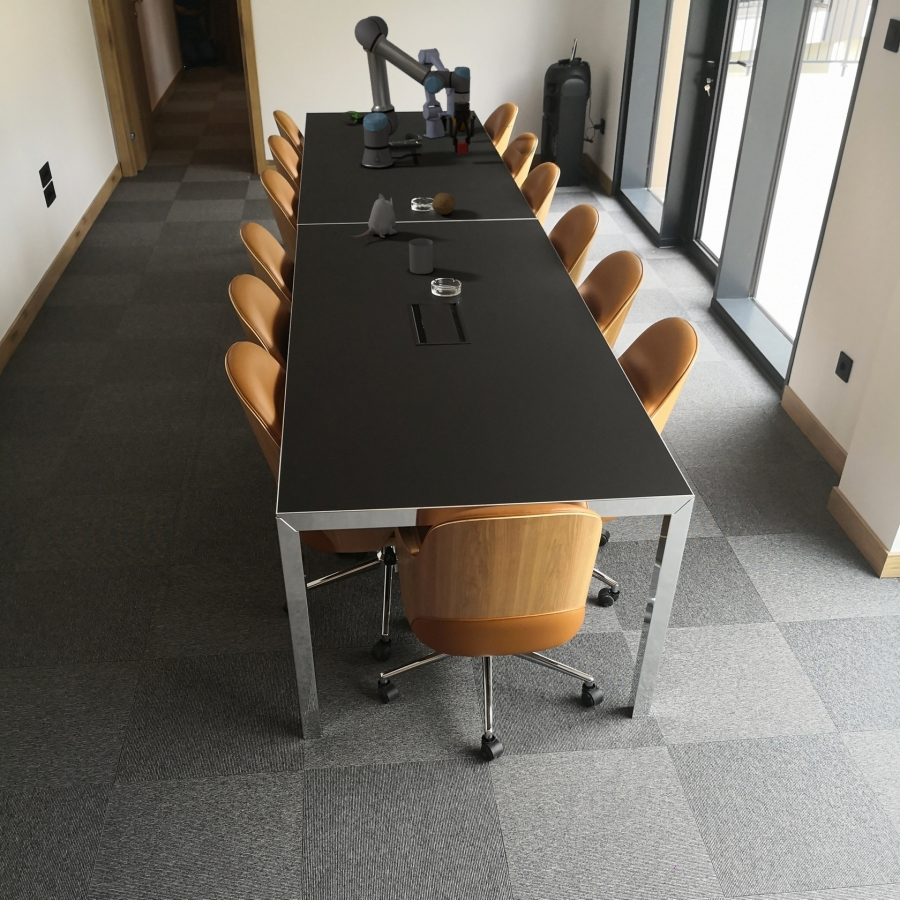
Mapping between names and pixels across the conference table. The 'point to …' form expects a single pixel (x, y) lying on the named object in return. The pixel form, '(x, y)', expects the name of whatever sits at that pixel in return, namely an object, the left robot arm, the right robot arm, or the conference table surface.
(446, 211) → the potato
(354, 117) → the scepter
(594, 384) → the conference table surface
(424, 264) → the cup
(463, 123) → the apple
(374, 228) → the toy
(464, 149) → the brick
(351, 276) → the conference table surface
